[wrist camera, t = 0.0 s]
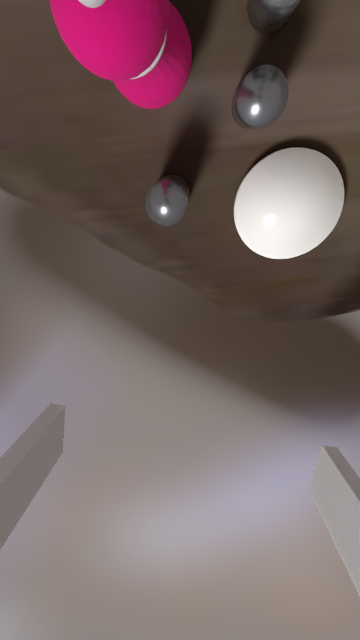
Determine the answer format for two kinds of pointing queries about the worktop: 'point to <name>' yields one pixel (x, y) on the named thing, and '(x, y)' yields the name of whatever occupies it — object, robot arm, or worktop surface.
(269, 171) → the disc
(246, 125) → the posts
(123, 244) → the worktop surface
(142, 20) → the pepper mill
